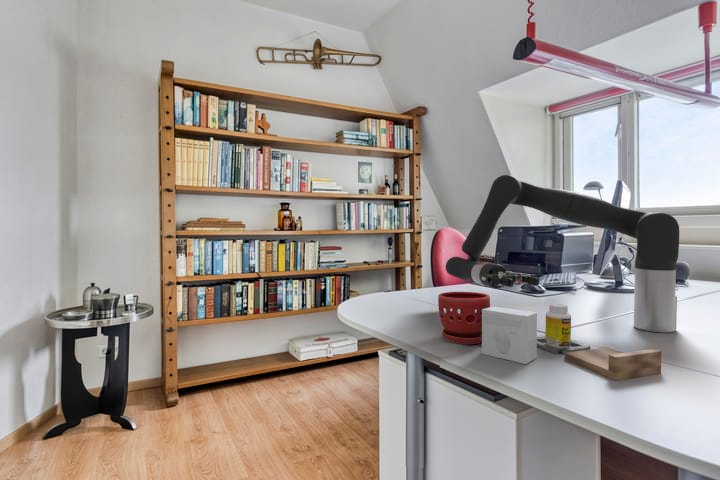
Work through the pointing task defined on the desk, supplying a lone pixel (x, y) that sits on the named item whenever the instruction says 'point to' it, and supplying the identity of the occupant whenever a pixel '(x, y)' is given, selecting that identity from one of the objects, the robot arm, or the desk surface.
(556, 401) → the desk surface
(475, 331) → the plant pot
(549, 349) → the socket collar
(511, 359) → the skincare box
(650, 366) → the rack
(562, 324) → the supplement bottle
